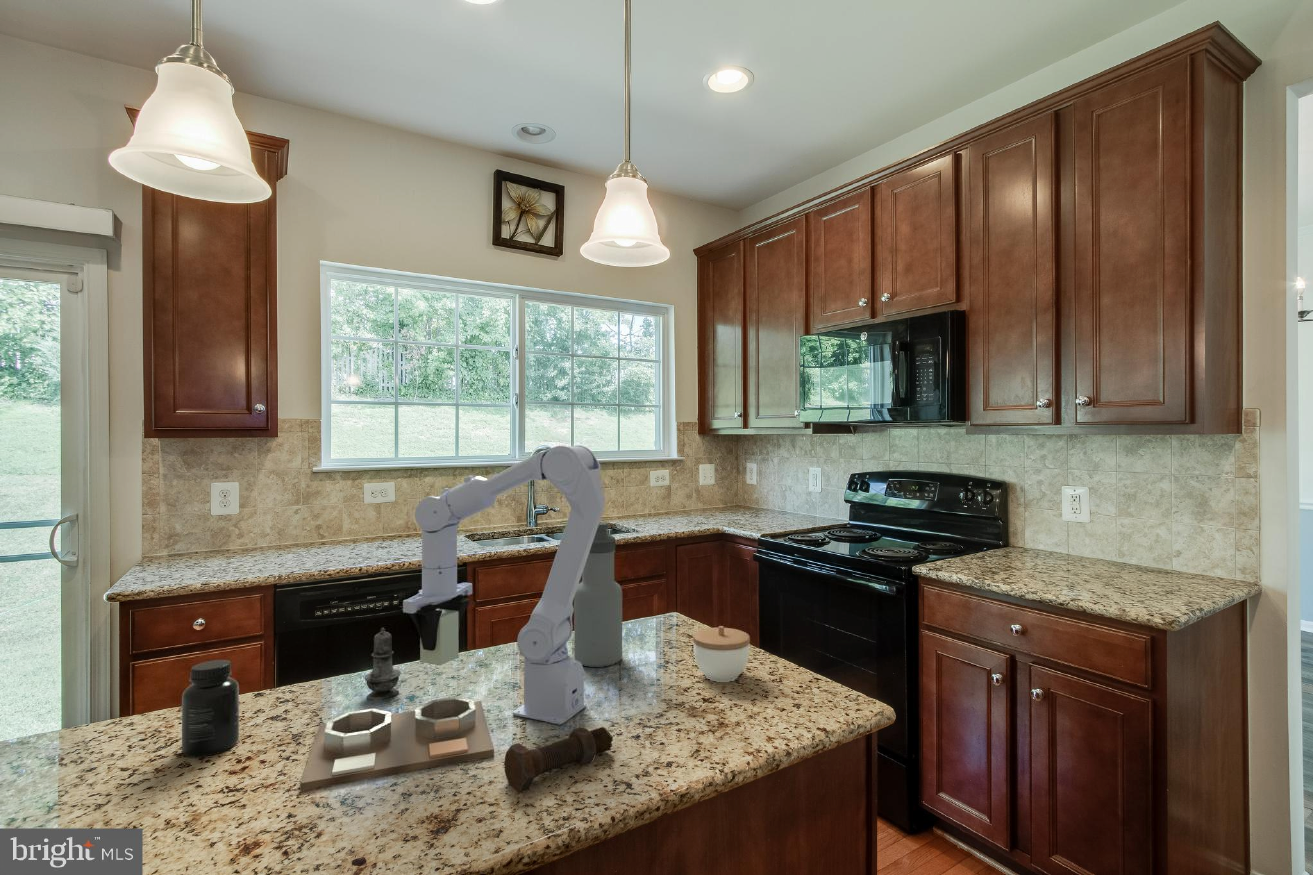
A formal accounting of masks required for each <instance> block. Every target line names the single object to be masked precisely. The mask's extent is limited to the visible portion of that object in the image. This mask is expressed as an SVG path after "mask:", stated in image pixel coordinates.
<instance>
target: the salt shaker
mask: <svg viewBox="0 0 1313 875" xmlns="http://www.w3.org/2000/svg"><path fill="white" fill-rule="evenodd" d="M385 630H386V629H385V627H384V626H383V627H381V629H380V631H379V632H378V633H376V634H375V635H374V637H373V653H371V657H373V666H372V670H371V672H369V673H367V674H366V675H365V676H364V680H365V682H366V687H367V688H368V689H369V690H371V692H369V693H367V695H366V700H367V701H369V702H375V703H376V702H377V703H379V702H385V701H389V700H392V699H395V698H396V697H398V696H399V694H400V691H399V690H398V689H396V688H395V687H396V686H397V685H398V682H399V679H400V676H401V674H402V673H401V670H398V669H396V668H395V669H394V667H393V654H394V653H395V652H394V650H392V634H391V633H390V632H388V631H385Z"/></svg>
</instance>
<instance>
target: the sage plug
mask: <svg viewBox="0 0 1313 875" xmlns="http://www.w3.org/2000/svg"><path fill="white" fill-rule="evenodd" d="M435 610H441V611H442V613H441V616H440V619H439V623H438V628H437V642H436V647H435V650H433V651H430V650H424V649H423V646H422V642H421V639H419V641H420V644H419V648H420V650H419V651H420V653H419V654H420V655H419V657H420V658H419V661H420V663H424V664H429V665H436V666H442V665H445V664H447V663H449V662H451V661H454V660H455V659H458V658H459V655H460V654H459V649H460V648H459V644H460V643H459V629H458V611H454V610H446V609H440V608H436V609H435Z"/></svg>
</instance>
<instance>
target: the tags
mask: <svg viewBox="0 0 1313 875" xmlns="http://www.w3.org/2000/svg"><path fill="white" fill-rule="evenodd" d="M429 750H430V758H435V757H441V756H447V755H452V754H458V753H464V752H468V747H467V741H466V738H461V739H455V740H449V741H443V742H437V743H431V744H429ZM375 756H376V753H371V754H365V755H359V756H353V757H347V758H341V759H335V762H334V767H333V771H332V775H338V774H343V773H349V772H355V771H361V770H366V769H372V768H374V765H375Z"/></svg>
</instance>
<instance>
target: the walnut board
mask: <svg viewBox="0 0 1313 875" xmlns="http://www.w3.org/2000/svg"><path fill="white" fill-rule="evenodd" d="M474 705H475V709H476V725H475V726H474V727H473V728H471V729H469V730H468V731H466V732H464V733H463V734H461V735H459V736H453V737H447V738H441V739H434V740H433V739H429V738H425V737H421V736H417V735H416V733H415V710H410V711H404V712H398V713H397V712H396V713H391V739H390V740H388V741H386V742H385V743H383V744H381V745H379V746H377V747H376V748H374V749H372V750H368V751H362V752H356V753H350V754H344V755H343V754H338V753H334V752H331V751H327V750H325V729H326V726H327V723H323V724H319V726H318V729H317V733H316V735H315V739H314V742H313V745H312V748H311V751H310V754H309V757H308V759H307V763H306V765H305V769H304V772H303V776H302V779H301V782H300V792H303V791H308V790H309V791H310V790H315V789H319V788H327V787H331V786H335V785H342V784H347V783H353V782H354V783H355V782H359V781H363V780H369V779H370V780H371V779H376V778H380V777H386V776H392V775H398V774H403V773H408V772H409V773H410V772H414V771H419V770H420V771H421V770H425V769H431V768H437V767H443V766H447V765H453V764H459V763H465V762H470V761H475V760H481V759H487V758H493V757H495V748H494V745H493V741H492V737H491V733H490V730H489V726H488V722H487V719H486V714H485V712H484V707H483V705H482V701H481V700H477V701H474ZM452 717H457V715H449V716H443V717H436V718H433V719H435V720H439V719H445V718H452ZM370 729H372V727H371V728H364V729H358V730H351V731H348V732H346V733H345V734H348V733H354V732H361V731H367V730H370ZM461 738H466V741H467V747H468V752H464V753H458V754H452V755H447V756H441V757H435V758H430V750H429V744H431V743H437V742H443V741H449V740H455V739H461ZM371 753H376V756H375V765H374V768H372V769H366V770H361V771H355V772H349V773H343V774H338V775H332V771H333V767H334V762H335V759H341V758H347V757H353V756H359V755H365V754H371Z"/></svg>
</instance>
